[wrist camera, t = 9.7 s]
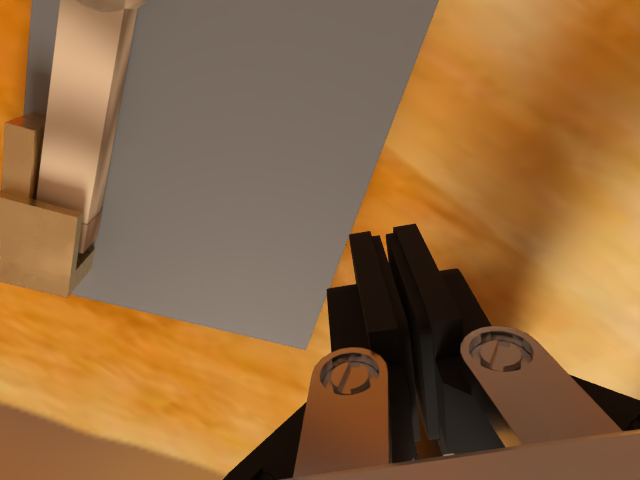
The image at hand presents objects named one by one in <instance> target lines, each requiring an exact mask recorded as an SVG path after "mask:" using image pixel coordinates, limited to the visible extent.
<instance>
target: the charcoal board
mask: <svg viewBox="0 0 640 480" xmlns="http://www.w3.org/2000/svg"><path fill="white" fill-rule="evenodd" d="M438 1H439V0H148V1H147V2H146V3H145V4H144V5H143V6H142V7H140V8H139V9H137V15H136V20H135V26H134V31H133V37H132V42H131V48H130V53H129V59H128V64H127V70H126V75H125V81H124V86H123V92H122V97H121V103H120V108H119V114H118V119H117V125H116V130H115V136H114V141H113V147H112V153H111V158H110V164H109V169H108V175H107V180H106V186H105V191H104V197H103V202H102V208H101V211H102V214H101V219H100V225H99V230H98V236H97V239H96V240H95V241H94V242H93V243H92V244H91V245H90V246H89V247H88V248H92V249H94V256H93V263H92V269H91V270H90V271H89V272H88V273H87V275H86V276H85V277H84V278H83V279H82V281H81V282H80V283H79V284H78V286H77V287H76V288H75V289H74V290H73V292H72V293H71V295H75V296H79V297H84V298H88V299H92V300H96V301H100V302H105V303H109V304H113V305H117V306H122V307H126V308H130V309H134V310H138V311H143V312H147V313H151V314H155V315H160V316H164V317H168V318H172V319H176V320H181V321H185V322H189V323H193V324H197V325H202V326H206V327H210V328H214V329H219V330H223V331H227V332H231V333H235V334H240V335H244V336H248V337H252V338H257V339H261V340H265V341H269V342H273V343H278V344H282V345H286V346H290V347H295V348H299V349H303V350H306V348H307V345H308V343H309V340H310V337H311V335H312V332H313V329H314V327H315V324H316V322H317V319H318V316H319V314H320V311H321V308H322V306H323V303H324V301H325V298H326V295H327V289H328V288H329V287H330V285H331V282H332V280H333V277H334V274H335V272H336V269H337V266H338V264H339V261H340V258H341V256H342V253H343V251H344V248H345V245H346V243H347V240H348V237H349V234H350V232H351V230H352V227H353V224H354V222H355V219H356V216H357V214H358V211H359V209H360V206H361V203H362V201H363V198H364V195H365V193H366V190H367V188H368V185H369V182H370V180H371V177H372V174H373V172H374V169H375V167H376V164H377V161H378V159H379V156H380V153H381V151H382V148H383V146H384V143H385V140H386V138H387V135H388V132H389V130H390V127H391V125H392V122H393V119H394V117H395V114H396V111H397V109H398V106H399V104H400V101H401V98H402V96H403V93H404V90H405V88H406V85H407V83H408V80H409V77H410V75H411V72H412V69H413V67H414V64H415V62H416V59H417V56H418V54H419V51H420V48H421V46H422V43H423V40H424V38H425V35H426V33H427V30H428V27H429V25H430V22H431V19H432V17H433V14H434V12H435V9H436V6H437V4H438ZM59 7H60V0H32V7H31V21H30V35H29V49H28V63H27V77H26V91H25V105H24V115H27V114H29V113H32V112H34V113H38V114H41V115H44V116H46V114H47V106H48V98H49V89H50V81H51V73H52V65H53V57H54V48H55V40H56V32H57V24H58V15H59Z"/></svg>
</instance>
